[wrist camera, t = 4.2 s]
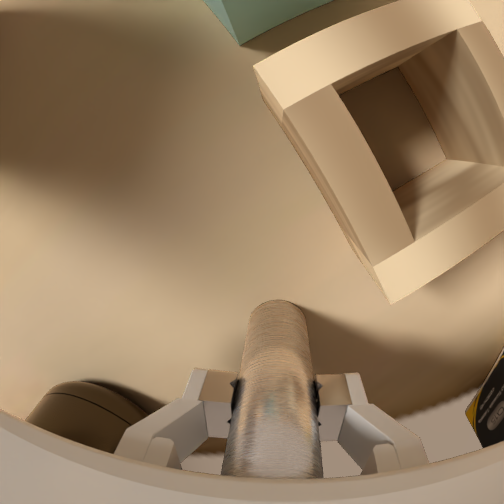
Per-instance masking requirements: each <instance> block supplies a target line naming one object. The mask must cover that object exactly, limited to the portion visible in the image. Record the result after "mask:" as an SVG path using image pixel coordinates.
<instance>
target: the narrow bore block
mask: <svg viewBox="0 0 504 504" xmlns="http://www.w3.org/2000/svg"><path fill="white" fill-rule="evenodd" d="M203 1H204V2H205V3H206V5H207V6H208V7H209V8H210V9H211V10H212V12H213V13H214V14H215V15H216V17H217V18H218V19H219V20H220V21H221V23H222V24H223V25H224V26H225V28H226V29H227V30H228V31H229V33H230V34H231V35H232V37H233V38H234V39H235V40H236V42H237V43H238V44H239V46H240V45H242V44H244V43H245V42H247V41H249V40H251V39H253V38H254V37H256V36H258V35H260V34H262V33H264V32H266V31H268V30H270V29H272V28H273V27H275V26H277V25H279V24H282V23H284V22H286V21H288V20H290V19H292V18H294V17H296V16H298V15H301V14H303V13H305V12H307V11H310V10H312V9H314V8H316V7H319V6H321V5H324V4H326V3H329V2H331V1H334V0H203Z"/></svg>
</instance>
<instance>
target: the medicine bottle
mask: <svg viewBox="0 0 504 504" xmlns="http://www.w3.org/2000/svg"><path fill="white" fill-rule="evenodd" d="M465 414H466V416H467V418H468V420H469V422H470V424H471V426H472V427H473V429H474V431H475V433H476V435H477V437H478V439H479V441H480V443H481V445H482V447H483V448H485V447H488V446H491V445H494V444H497V443H499V442H502V441H504V348H503V349H502V351H501V353H500V355H499V357H498V359H497V361H496V362H495V364H494V366H493V368H492V369H491V371H490V373H489V374H488V376H487V378H486V379H485V381H484V383H483V384H482V386H481V387H480V389H479V391H478V392H477V394H476V395H475V397H474V398H473V400H472V402H471V403H470V404H469V406H468V407H467V409H466V411H465Z"/></svg>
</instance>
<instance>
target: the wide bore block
mask: <svg viewBox="0 0 504 504" xmlns="http://www.w3.org/2000/svg"><path fill="white" fill-rule="evenodd" d="M396 67H398V68H399V69H400V71H401V72H402V74H403V76H404V77H405V79H406V81H407V82H408V84H409V86H410V87H411V89H412V91H413V93H414V94H415V96H416V98H417V100H418V101H419V103H420V105H421V107H422V109H423V111H424V113H425V115H426V116H427V118H428V120H429V122H430V124H431V126H432V128H433V130H434V132H435V134H436V137H437V139H438V141H439V143H440V145H441V147H442V150H443V152H444V154H445V156H446V160H445V161H443V162H441V163H440V164H438V165H436V166H435V167H433V168H431V169H430V170H428V171H426V172H425V173H423V174H421V175H420V176H418V177H416V178H415V179H413V180H411V181H410V182H408V183H406V184H404V185H403V186H401V187H399V188H398V189H396V190H394V191H393V192H392V190H391V188H390V186H389V184H388V182H387V180H386V178H385V176H384V174H383V172H382V170H381V168H380V166H379V164H378V162H377V160H376V159H375V157H374V155H373V153H372V151H371V149H370V147H369V146H368V144H367V142H366V140H365V138H364V137H363V135H362V133H361V131H360V130H359V128H358V126H357V125H356V123H355V121H354V120H353V118H352V116H351V115H350V113H349V111H348V110H347V108H346V106H345V105H344V103H343V102H342V100H341V99H340V97H339V95H340V94H342V93H344V92H346V91H348V90H350V89H352V88H354V87H356V86H358V85H360V84H362V83H364V82H366V81H368V80H370V79H372V78H374V77H376V76H378V75H381V74H383V73H385V72H387V71H389V70H391V69H393V68H396ZM253 68H254V71H255V74H256V78H257V81H258V84H259V88H260V91H261V94H262V98H263V100H264V102H265V103H266V105H267V106H268V108H269V109H270V111H271V112H272V114H273V115H274V117H275V118H276V120H277V121H278V123H279V125H280V126H281V128H282V129H283V131H284V132H285V134H286V135H287V137H288V139H289V140H290V142H291V143H292V145H293V146H294V148H295V150H296V151H297V153H298V155H299V156H300V158H301V159H302V161H303V163H304V164H305V166H306V168H307V169H308V171H309V173H310V174H311V176H312V178H313V179H314V181H315V183H316V184H317V186H318V188H319V190H320V191H321V193H322V195H323V197H324V198H325V200H326V202H327V204H328V205H329V207H330V209H331V211H332V212H333V214H334V216H335V218H336V220H337V222H338V223H339V225H340V227H341V229H342V231H343V233H344V234H345V236H346V238H347V240H348V242H349V244H350V246H351V248H352V250H353V251H354V252H355V254H356V255H357V257H358V258H359V259H360V261H361V262H362V264H363V265H364V267H365V268H366V269H367V271H368V272H369V274H370V275H371V277H372V278H373V280H374V281H375V283H376V284H377V286H378V287H379V289H380V290H381V292H382V293H383V295H384V296H385V298H386V299H387V301H388V302H389V304H390V305H392V304H394V303H396V302H397V301H399V300H401V299H402V298H404V297H406V296H407V295H409V294H411V293H412V292H414V291H416V290H417V289H419V288H421V287H422V286H424V285H425V284H427V283H429V282H430V281H432V280H433V279H435V278H436V277H438V276H440V275H441V274H443V273H444V272H446V271H447V270H449V269H450V268H452V267H453V266H455V265H456V264H458V263H459V262H461V261H462V260H464V259H465V258H467V257H468V256H469V255H471V254H472V253H474V252H475V251H477V250H478V249H479V248H481V247H482V246H483V245H485V244H486V243H488V242H489V241H490V240H492V239H493V238H494V237H496V236H497V235H498V234H500V233H501V232H502V231H504V57H503V55H502V53H501V51H500V50H499V48H498V46H497V44H496V42H495V41H494V39H493V37H492V36H491V34H490V32H489V31H488V29H487V27H486V26H485V24H484V22H483V21H482V19H481V18H480V16H479V15H478V13H477V12H476V10H475V9H474V7H473V6H472V4H471V3H470V1H469V0H399V1H396V2H392V3H389V4H386V5H384V6H381V7H378V8H375V9H372V10H370V11H367V12H364V13H362V14H359V15H356V16H354V17H351V18H349V19H346V20H344V21H342V22H339V23H337V24H335V25H332V26H330V27H328V28H326V29H323V30H321V31H319V32H317V33H315V34H312V35H310V36H308V37H306V38H304V39H302V40H300V41H298V42H296V43H294V44H292V45H290V46H288V47H286V48H284V49H282V50H280V51H278V52H277V53H275V54H273V55H271V56H269V57H267V58H265V59H264V60H262V61H260V62H258V63H257V64H255V65H253Z"/></svg>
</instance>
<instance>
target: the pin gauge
mask: <svg viewBox="0 0 504 504" xmlns="http://www.w3.org/2000/svg"><path fill="white" fill-rule="evenodd" d="M221 475H223V476H234V477H246V478H264V479H319V478H323V467H322V457H321V445H320V434H319V424H318V415H317V406H316V396H315V388H314V379H313V371H312V363H311V355H310V347H309V340H308V332H307V325H306V319H305V316H304V314H303V312H302V311H301V310H300V309H299V308H298V307H297V306H296V305H294V304H292V303H290V302H287V301H283V300H272V301H268V302H265V303H263V304H261V305H259V306H258V307H257V308H256V309H255V310H254V311H253V312H252V314H251V316H250V318H249V323H248V329H247V335H246V340H245V346H244V351H243V357H242V362H241V368H240V374H239V379H238V385H237V390H236V395H235V401H234V406H233V412H232V417H231V423H230V428H229V433H228V439H227V444H226V449H225V455H224V460H223V465H222V471H221Z"/></svg>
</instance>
